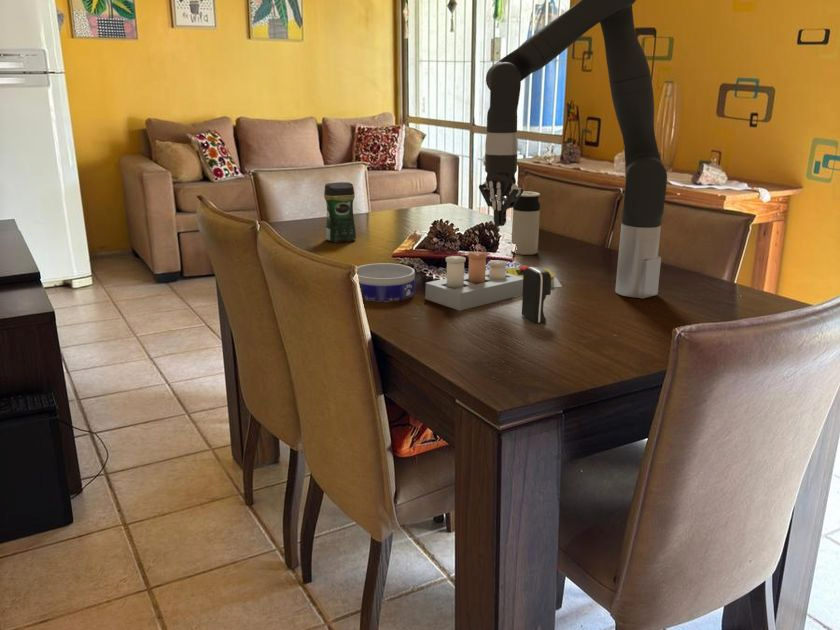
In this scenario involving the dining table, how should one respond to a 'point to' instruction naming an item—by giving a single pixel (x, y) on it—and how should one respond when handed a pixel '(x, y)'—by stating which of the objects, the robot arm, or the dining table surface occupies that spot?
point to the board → (474, 291)
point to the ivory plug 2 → (497, 269)
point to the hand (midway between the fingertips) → (499, 225)
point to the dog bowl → (386, 282)
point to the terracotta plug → (477, 267)
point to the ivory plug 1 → (455, 271)
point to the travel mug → (526, 223)
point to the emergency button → (520, 271)
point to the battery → (535, 293)
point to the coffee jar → (340, 211)
